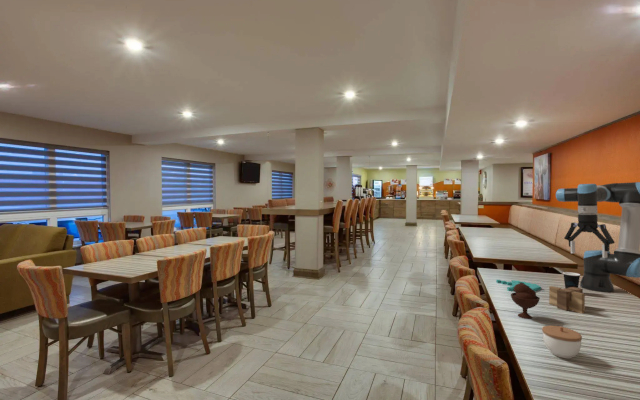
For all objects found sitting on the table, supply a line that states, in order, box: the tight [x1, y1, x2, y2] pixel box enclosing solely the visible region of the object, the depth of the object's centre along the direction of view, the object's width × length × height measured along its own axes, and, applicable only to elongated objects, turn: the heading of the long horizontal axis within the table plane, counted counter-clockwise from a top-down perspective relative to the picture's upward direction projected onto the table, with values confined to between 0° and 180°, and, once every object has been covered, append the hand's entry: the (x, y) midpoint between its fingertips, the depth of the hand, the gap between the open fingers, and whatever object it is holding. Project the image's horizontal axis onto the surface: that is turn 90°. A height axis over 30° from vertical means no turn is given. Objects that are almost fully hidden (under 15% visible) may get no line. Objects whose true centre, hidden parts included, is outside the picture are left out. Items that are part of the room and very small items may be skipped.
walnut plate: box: [556, 287, 584, 312], centre depth 152 cm, size 14×4×9 cm, turn 114°
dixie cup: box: [562, 271, 581, 289], centre depth 177 cm, size 8×8×11 cm
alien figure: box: [495, 279, 542, 293], centre depth 188 cm, size 20×2×20 cm
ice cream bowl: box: [510, 284, 540, 320], centre depth 140 cm, size 11×11×15 cm
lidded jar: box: [541, 325, 583, 360], centre depth 106 cm, size 11×11×9 cm
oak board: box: [548, 285, 586, 314], centre depth 151 cm, size 2×14×9 cm, turn 24°
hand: (588, 255), depth 157 cm, fingers open, 13 cm apart
